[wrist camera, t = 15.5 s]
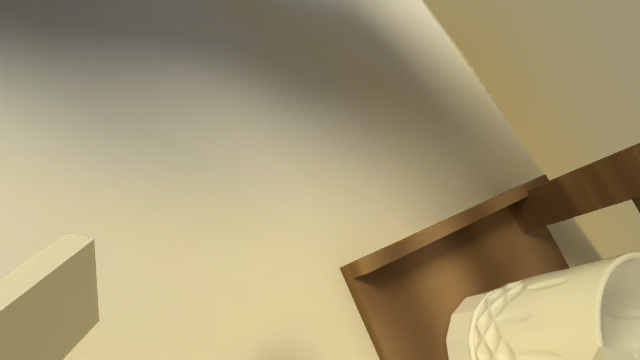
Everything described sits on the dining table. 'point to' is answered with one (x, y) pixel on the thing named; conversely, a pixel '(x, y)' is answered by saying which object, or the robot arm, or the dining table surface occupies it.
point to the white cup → (553, 315)
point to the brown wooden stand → (477, 255)
